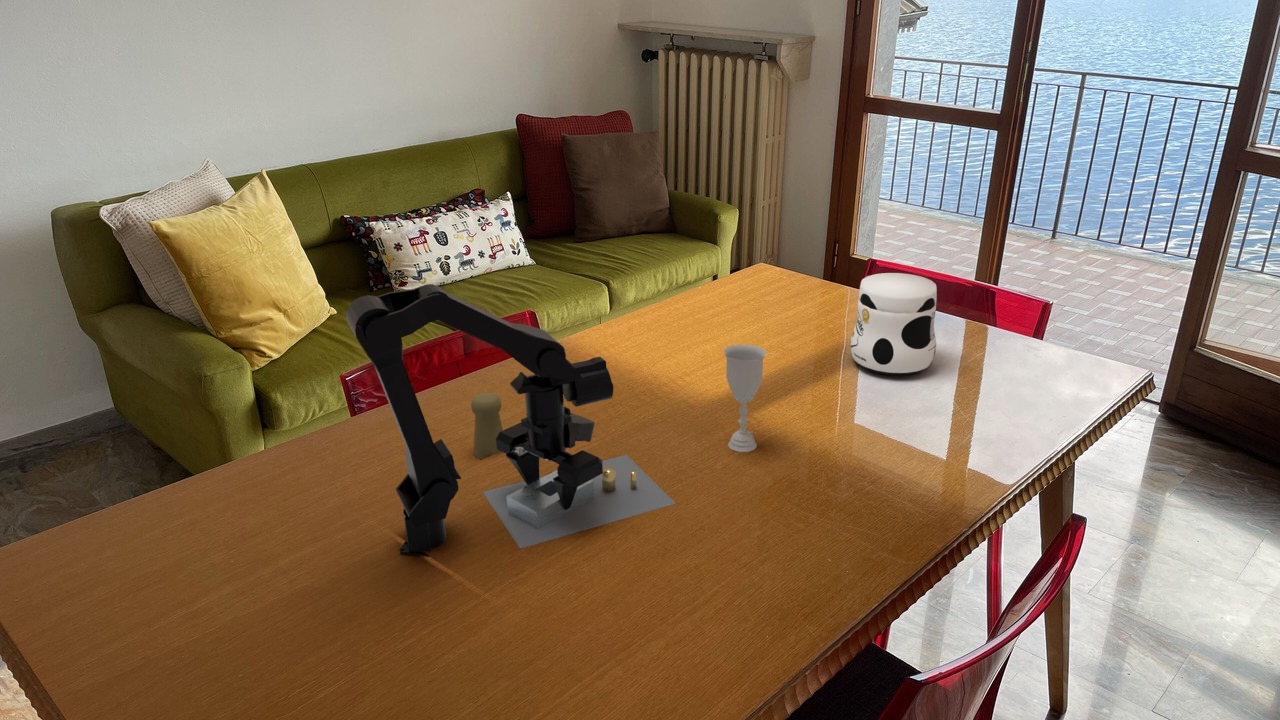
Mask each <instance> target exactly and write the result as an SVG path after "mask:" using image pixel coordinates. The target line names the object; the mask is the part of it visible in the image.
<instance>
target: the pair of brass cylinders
mask: <svg viewBox="0 0 1280 720" xmlns="http://www.w3.org/2000/svg"><path fill="white" fill-rule="evenodd" d="M630 488H631V490H635V489H637V483H636V471H630ZM602 490H603V492H606V493H611V492H614V491H615V490H616V482H615V468H613V467H604V468H603V473H602Z"/></svg>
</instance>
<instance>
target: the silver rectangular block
mask: <svg viewBox="0 0 1280 720" xmlns="http://www.w3.org/2000/svg"><path fill="white" fill-rule="evenodd" d="M543 476H544V477H542V476H541V477H542V478H540V479H539V480H537V481H535V482H533V483H531V484H529V485H527V486H525V487H523V488H521V489H519V490H517V491H515V492H514V493H512V494H510V495H508V496H507V506H508V513H510V514H512V515H513V516H515V517H517V518H519V519H521V520H522V521H524V522H526V523H528V524H530V525H532V526H533V527H535V528H537V529H539V528H541V527H542V526H544V525H546V524H548V523H549V522H551V521H553V520H555V519H556V518H558V517H560V516H562V515H564V514H565V513H567V512H569V511H571V510H572V509H574V508H576V507H578V506H579V505H581V504H583V503H585V502H586V501H588V500H590V499H592V498H594V486H593V481H592V480H590V481H588V482H586V483H584V484H582V485H580V486H578V487H577V490H576V493H575V496H574V499H573V501H572V504H571V507H570V508H569V509H567V510H565V509H564V508H563V506H562V504H561V501H560V498H559V495H558V492H557V489H556V487H555V484H554V481H553V478H555V477H557V476H558V473H557V469H556V470H553V471H552V472H551V473H548V474H547V475H543Z"/></svg>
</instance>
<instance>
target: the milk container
mask: <svg viewBox="0 0 1280 720" xmlns="http://www.w3.org/2000/svg"><path fill="white" fill-rule="evenodd" d="M937 292H938V291H937V284H936V283H935V282H934V281H932V280H931V279H929V278H927V277H925V276H924V277H923V276H920V275H917V274H910V273H901V272H885V273H883V272H882V273H875V274H872V275H867V276H866V277H864V278H862V280H861V281H860V286H859V291H858V299H857V317H856V322H855V326H854V328H853V331H852V334H851V337H850V350H851V351H850V353H851V356H852V359H853V360H854V361H855V363H856V364H858V365H859V366H860V367H862V368H864V369H865V370H868V371H870V372H874V373H877V374H882V375H889V376H906V375H907V376H908V375H914V374H917V373H919V372H923V371H925V370H927V369H928V368H929V367H930V366H931V364H932V363H933V361H934V358H935V355H936V351H937V339H936V338H937V337H936V334H935V333H936V332H935V317H936V313H937V310H936V309H937V300H938V299H937V298H938V297H937V295H938V294H937Z"/></svg>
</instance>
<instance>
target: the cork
mask: <svg viewBox="0 0 1280 720" xmlns="http://www.w3.org/2000/svg"><path fill="white" fill-rule="evenodd" d="M470 407H471V408H470V409H471V411H472V413H473V414H474V434H473V436H474V438H473V440H474V441H473V456H474V457H475V458H477V459H478V458H479V460H482V459H483V460H485V459H487V458H489V457H491V456H493V455H497V454H500V453H502V452H501V451H499V450H497V446H496V438H497V436H498V434H499V433H500V432H501V431H503V430H504V429H503V425H502V421H501V416H500V412H501V410H502V401H501V399H500V397H499V396H498V395H497V394H496V393H493V392H482V393H479V394H477V395H475V396H474V397H473V398H472V400H471V403H470Z"/></svg>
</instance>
